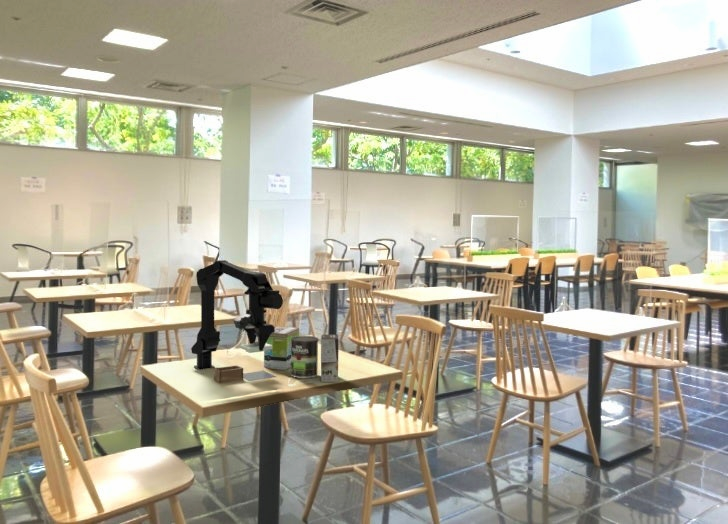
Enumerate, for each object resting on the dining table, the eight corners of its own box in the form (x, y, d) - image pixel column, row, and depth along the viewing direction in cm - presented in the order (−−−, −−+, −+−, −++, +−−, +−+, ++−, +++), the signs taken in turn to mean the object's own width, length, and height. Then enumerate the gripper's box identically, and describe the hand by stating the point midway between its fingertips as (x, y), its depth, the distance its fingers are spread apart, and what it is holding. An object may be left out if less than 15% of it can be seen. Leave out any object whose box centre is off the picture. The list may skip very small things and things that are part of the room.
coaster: (236, 376, 223) (236, 374, 223) (263, 372, 229) (263, 370, 229) (249, 383, 214) (249, 380, 214) (276, 378, 220) (276, 376, 220)
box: (213, 381, 215) (213, 368, 215) (237, 378, 220) (237, 365, 220) (219, 385, 210) (219, 371, 210) (243, 381, 216) (243, 368, 215)
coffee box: (338, 382, 217) (338, 338, 216) (320, 382, 216) (321, 338, 215) (337, 375, 226) (337, 334, 225) (320, 376, 225) (321, 334, 224)
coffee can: (310, 379, 220) (311, 342, 219) (286, 377, 223) (286, 339, 222) (322, 373, 229) (322, 337, 228) (298, 370, 233) (298, 335, 232)
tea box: (287, 370, 234) (287, 333, 233) (263, 368, 236) (263, 331, 235) (299, 361, 248) (299, 326, 247) (276, 360, 250) (276, 325, 249)
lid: (240, 350, 221) (240, 342, 221) (263, 347, 227) (263, 339, 226) (248, 354, 215) (248, 345, 215) (272, 351, 221) (272, 342, 220)
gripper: (226, 305, 223) (226, 346, 224) (246, 311, 208) (246, 355, 209) (253, 303, 229) (253, 343, 230) (275, 309, 214) (275, 352, 215)
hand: (256, 348), depth 221 cm, fingers closed on lid, 7 cm apart
